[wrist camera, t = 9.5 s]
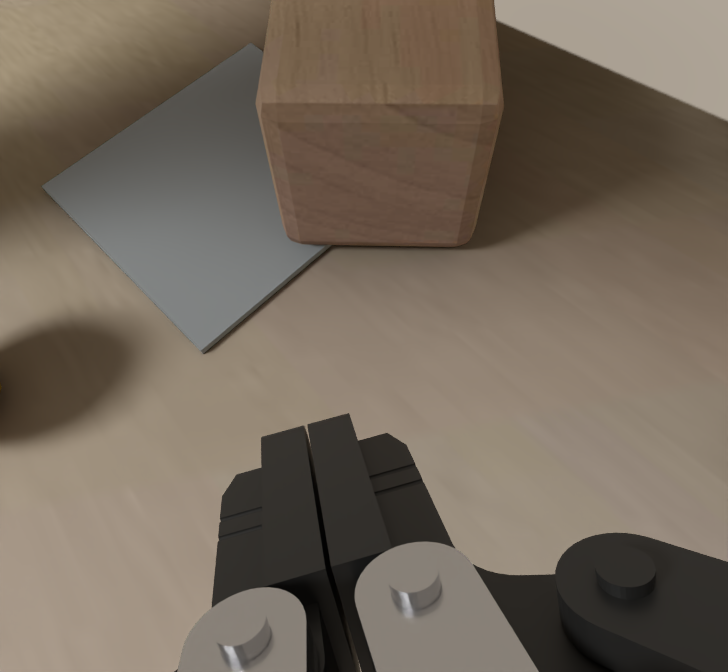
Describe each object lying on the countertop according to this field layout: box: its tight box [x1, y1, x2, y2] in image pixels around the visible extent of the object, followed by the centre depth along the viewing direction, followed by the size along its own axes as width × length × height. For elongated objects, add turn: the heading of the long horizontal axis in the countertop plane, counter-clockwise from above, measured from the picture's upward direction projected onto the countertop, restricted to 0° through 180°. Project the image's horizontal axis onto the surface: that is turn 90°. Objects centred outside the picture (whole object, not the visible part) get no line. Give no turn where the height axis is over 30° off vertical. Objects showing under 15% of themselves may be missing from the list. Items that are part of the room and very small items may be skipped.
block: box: [255, 0, 504, 247], centre depth 32 cm, size 10×10×20 cm
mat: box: [41, 43, 331, 354], centre depth 35 cm, size 15×16×1 cm
